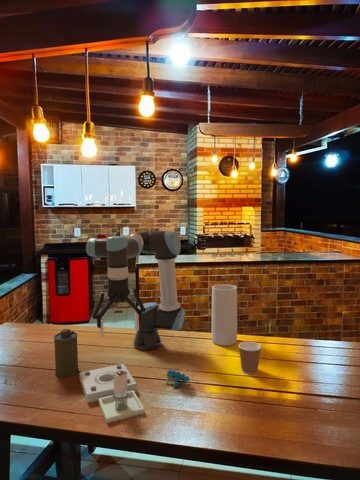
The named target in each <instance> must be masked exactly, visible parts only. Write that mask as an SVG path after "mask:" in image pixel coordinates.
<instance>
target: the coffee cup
mask: <svg viewBox="0 0 360 480" xmlns="http://www.w3.org/2000/svg"><path fill="white" fill-rule="evenodd" d="M238 349H239V358H240V368H241V371H242V373H244V374H247V375H255V374H257V373H258V369H259V363H260V355H261V349H262V345H261V344H259V343H257V342H254V341H243V342H240V343H239V344H238Z"/></svg>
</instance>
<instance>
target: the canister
mask: <svg viewBox="0 0 360 480" xmlns="http://www.w3.org/2000/svg"><path fill="white" fill-rule="evenodd" d="M53 340H54V364H55V372H54V374H55V375H56V376H57V377H61V378H66V376H67V377H71V376H73V375H76V374H77V373H78V372H79V370H80V369H79V356H78V355H79V354H78V353H79V351H78V333H77V332H75V331H74V330H71V329H69V328H64V329H62V330H61V331H60V332H59V333H58V332H57V333H56V334H55V335H54V336H53Z"/></svg>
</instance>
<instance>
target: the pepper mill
mask: <svg viewBox="0 0 360 480" xmlns="http://www.w3.org/2000/svg"><path fill="white" fill-rule="evenodd" d="M128 398H129V394H128V393H127V372H125V371H122V370H120V371H117V372H115V373H114V395H113V400H114V408H115V410H117V411H123V410H125V409H127V407H128Z"/></svg>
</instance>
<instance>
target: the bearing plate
mask: <svg viewBox="0 0 360 480" xmlns="http://www.w3.org/2000/svg"><path fill="white" fill-rule="evenodd" d="M120 370H122V371H125V372H127V392H129V391H134V392H135V393H136V392H137V389H138V388H137V387H138V385H137V382H136V381H135V379H134V377H133V375H132V374H131V373H130V371H129V370H128V368H127V366H126V365H125V364H124V363H121V364H116V365H110V366H106V367H99V368H95V369H91V370H85V371H81V372H79V382H80V385H82V386H81V388H83V389H82V392H83V395H84V394H85V395H84V397H85V400H86V403H87V404H89V403H94V402H99V398H103V397H107V396H112V395H114V373H115V372H117V371H120Z"/></svg>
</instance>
